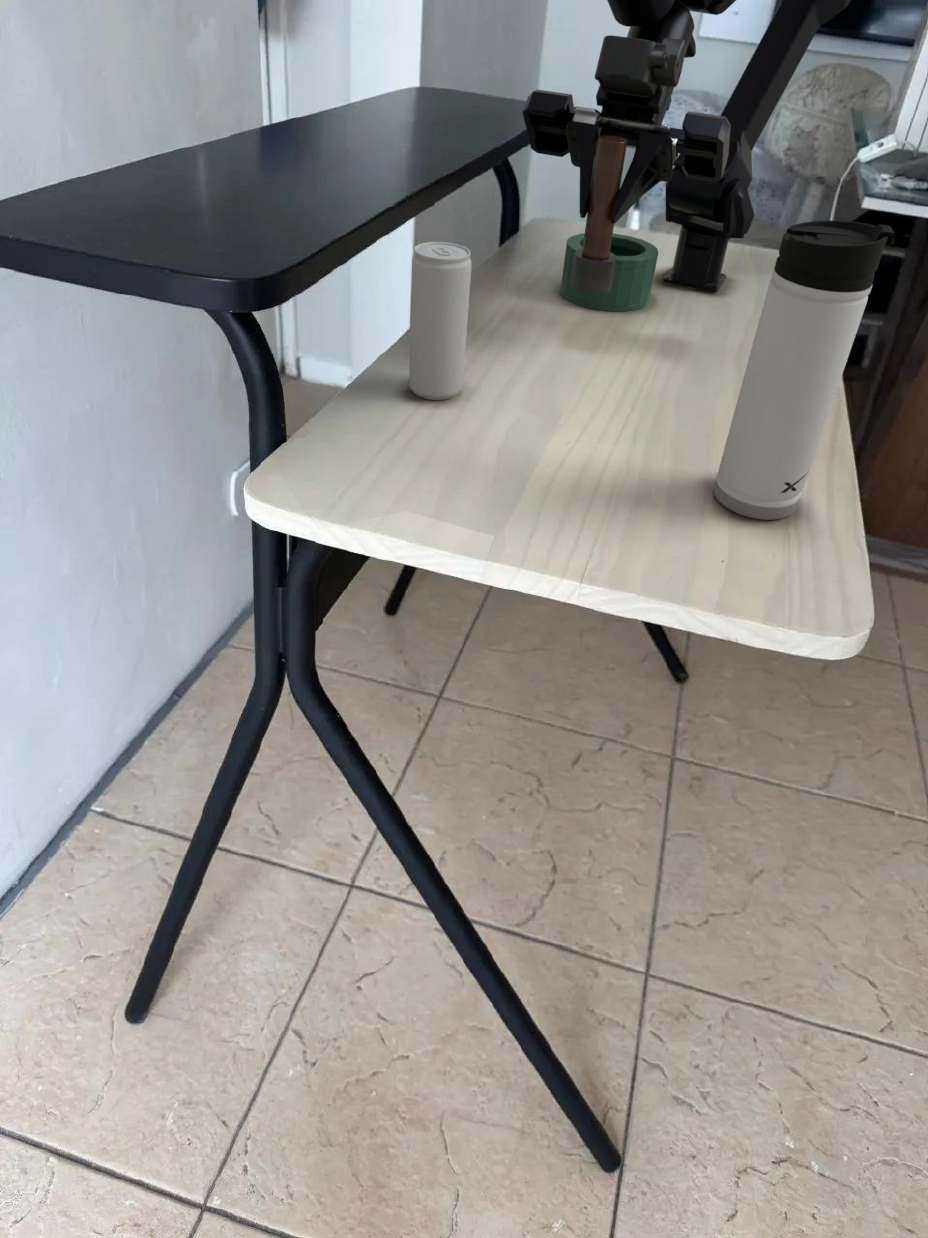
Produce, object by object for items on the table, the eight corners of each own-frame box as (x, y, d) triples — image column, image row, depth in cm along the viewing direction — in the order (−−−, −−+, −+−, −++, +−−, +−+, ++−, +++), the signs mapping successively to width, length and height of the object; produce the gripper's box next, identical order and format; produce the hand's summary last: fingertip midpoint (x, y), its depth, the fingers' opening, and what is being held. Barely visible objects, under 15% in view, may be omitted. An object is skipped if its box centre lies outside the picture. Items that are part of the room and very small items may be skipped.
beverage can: (422, 405, 79) (428, 261, 71) (398, 383, 82) (402, 243, 75) (471, 397, 81) (483, 256, 73) (447, 376, 84) (455, 239, 77)
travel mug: (804, 528, 67) (904, 243, 55) (713, 513, 68) (791, 228, 56) (797, 487, 72) (888, 216, 60) (712, 473, 73) (784, 203, 60)
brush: (577, 276, 91) (597, 131, 83) (615, 284, 90) (640, 137, 82) (564, 288, 89) (584, 138, 80) (604, 296, 87) (629, 145, 79)
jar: (575, 275, 110) (582, 227, 106) (657, 291, 107) (667, 242, 104) (548, 299, 102) (555, 248, 99) (636, 317, 100) (645, 265, 96)
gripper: (541, -17, 80) (484, 143, 79) (756, 7, 75) (699, 179, 74) (558, 76, 91) (507, 219, 90) (747, 103, 86) (697, 255, 85)
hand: (596, 217), depth 84 cm, fingers closed on brush, 2 cm apart
